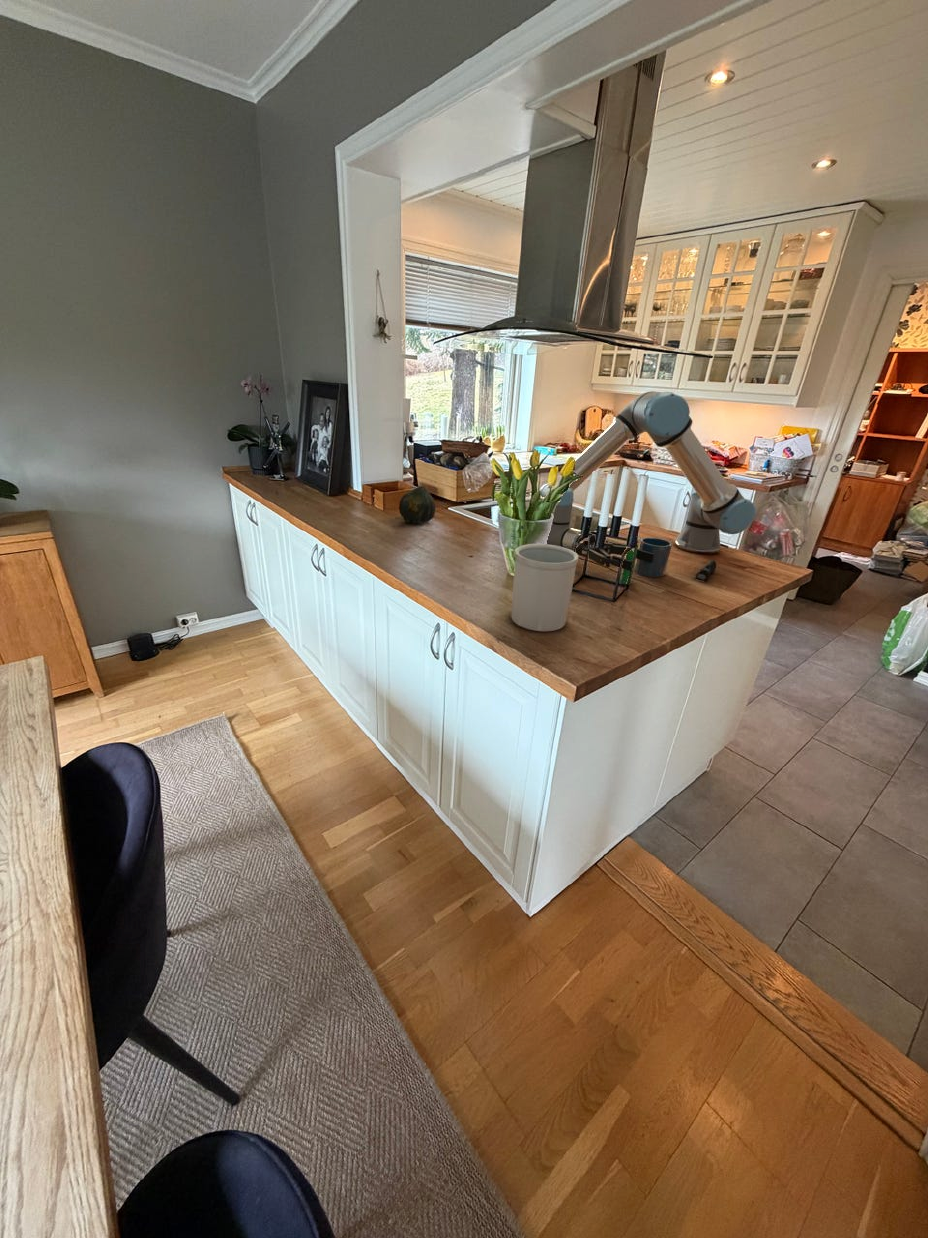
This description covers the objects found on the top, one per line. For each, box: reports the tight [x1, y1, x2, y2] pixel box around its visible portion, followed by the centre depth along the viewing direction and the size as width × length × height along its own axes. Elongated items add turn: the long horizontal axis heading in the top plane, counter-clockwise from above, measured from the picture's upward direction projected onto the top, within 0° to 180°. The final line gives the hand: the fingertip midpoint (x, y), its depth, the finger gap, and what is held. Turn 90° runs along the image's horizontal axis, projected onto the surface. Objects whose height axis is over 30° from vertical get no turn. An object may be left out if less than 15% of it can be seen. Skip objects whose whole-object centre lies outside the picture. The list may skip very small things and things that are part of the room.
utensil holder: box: [510, 543, 579, 632], centre depth 117 cm, size 15×15×18 cm
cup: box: [634, 537, 672, 578], centre depth 153 cm, size 9×9×10 cm
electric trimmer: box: [694, 560, 717, 583], centre depth 154 cm, size 4×16×3 cm, turn 142°
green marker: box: [620, 536, 641, 585], centre depth 143 cm, size 3×3×14 cm
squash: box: [398, 485, 436, 524], centre depth 196 cm, size 14×15×15 cm
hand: (642, 562), depth 140 cm, fingers open, 11 cm apart
